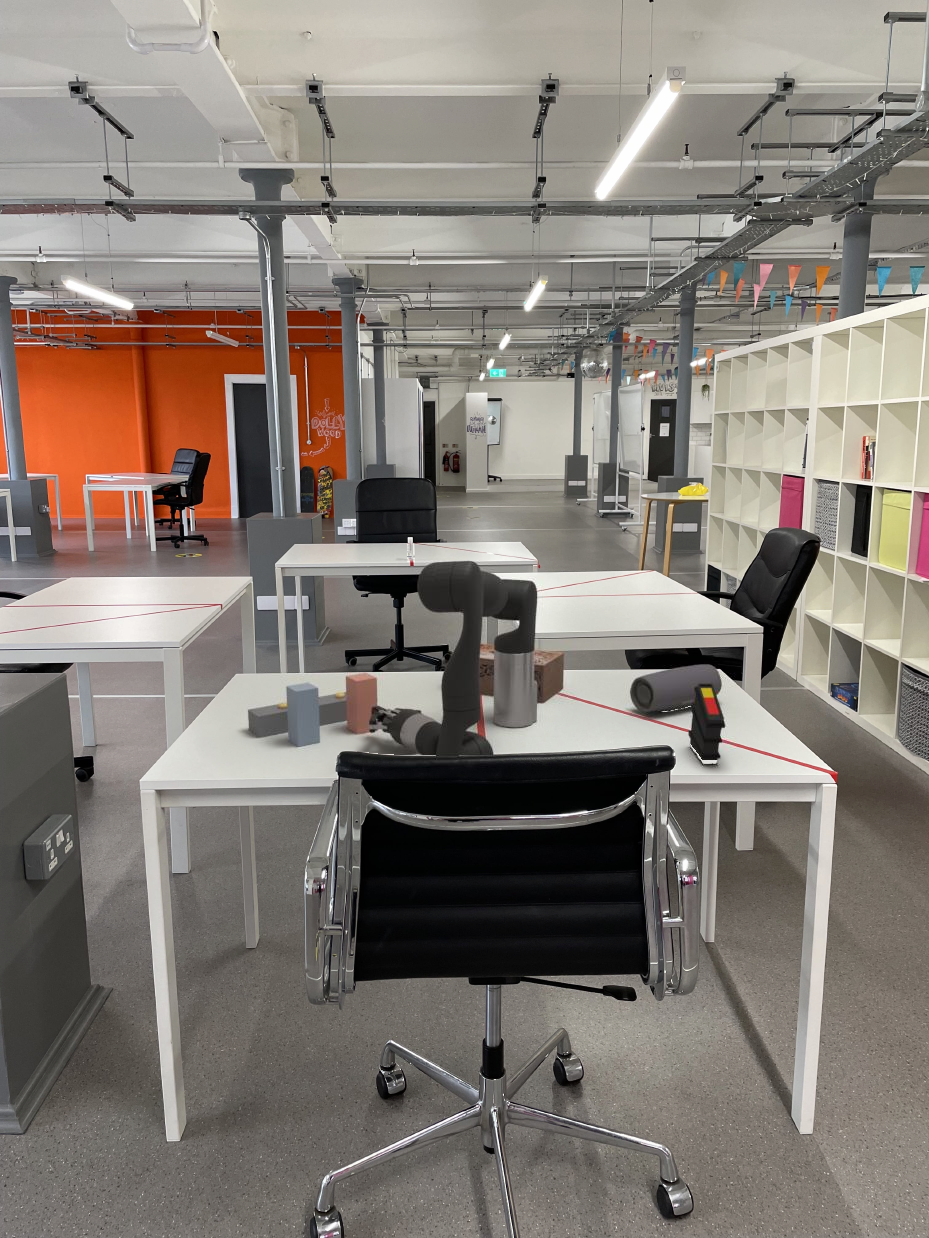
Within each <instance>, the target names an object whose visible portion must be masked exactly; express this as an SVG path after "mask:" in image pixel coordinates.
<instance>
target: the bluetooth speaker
mask: <svg viewBox="0 0 929 1238" xmlns="http://www.w3.org/2000/svg"><path fill="white" fill-rule="evenodd" d="M721 677H722V676H721V675H720V672H719V671H718V669H717V668H716V667H715V666H713V665H711V664H693V665H688V666H687V665H686V666H680V667H674V668H670V669H666V670H661V671H656V672H651V673H648V674H643V675H642V676H639V677H636V678H635V679H634V680H633V681H632V682H631V685H630V689H629V690H630V691H629V693H630V700H631V701H632V702H631V703H632V704H633V705H634V707H635V709H638V710H639V711H641V712H646V713H647V712H658V710H660V711H671V710H675V709H681V708H685V707H688V706H692V705H693V706H694V702H695V696H696V693H695V690H694V688H695V687H698V684H699V683H711V684H713V686H714V689H715V692H716V695H718V694H719V693H721V691H722V687H723V686H722V678H721Z"/></svg>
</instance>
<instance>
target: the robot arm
mask: <svg viewBox="0 0 929 1238" xmlns="http://www.w3.org/2000/svg"><path fill="white" fill-rule="evenodd" d="M416 588H417V594H418V595H417V596H418V597H419V599H420V602H421V604H422V605H423V606H424V607H425V608H426V609H427V610H428V611H430V612H431V613H437V614H440V613H442V614H443V613H447V614H448V613H460V614H462V615H463V616H462V617H463V618H462V620H463V621H462V629H461V633H460V637H459V640H458V641H457V644H456V646H455V648H454V649H453V652H452V653H453V654H452V653H451V654H452V656H451V657H449V659H448V661H447V663H446V665H445V668H444V670H443V673H442V678H441V685H440V686H441V689H440V690H441V702H442V703H441V704H442V721H441V723H440V722H438V721H437V720H436V719H435V718H432V717H431V716H428V715H426V714H424V713H422V710H421V709H412V708H400V707H396V708H394V709H391V708H385V707H382V706H380V705H377V706H374V707H372V709H371V718H370V720H369V732H368V733H370V734H373V733H376V731H379V730H381V731H382V732H383V733H387V734H390V736H391V738H392V739H393V741H394V742H396V743H397V744H398V745H400V746H403V747H404V748H405V749H407V750H409V751H411V752H413V753H416V754H418V755H421V756H423V755H436V756H459V755H493V756H494V750H493V746H492V745H491V743H490V741H489V740H488V739H487V738H485V736H483V735H482V734H480V733H477V732H474V731H470V730H468V729H470V728H471V727H473V726H475V725H476V724H477V723H479V722H480V720H481V719H482V706H481V705H482V703H481V695H480V686H479V660H480V646H481V644H482V632H483V618H489V617H492V618H493V619H497V620H500V621H501V620H502V621H515V622H516V621H518V627H517V628H515V629H514V630H511V631H507V632H504V633H501V634H499V635H497V636H495V638H494V642H493V645H494V697H493V723H494V724H495V725H497V726H501V727H506V728H524V727H528V726H531V725H532V724H533V723H534V722H537V719H538V703H537V681H535V680H534V650H536V649H535V646H536V645H535V643H536V642H535V641H536V623H537V608H538V587H537V586H536V584H535V582H534V581H533V580H527V579H526V580H524V579H509V578H508V579H507V578H506V579H505V578H501V577H499V576H498V575H496V574H495V573H491V572H488V571H485V570H482V569H481V568H480V566H479V564H478V563H476V561H473V560H456V561H455V560H453V561H451V560H450V561H437V562H436V561H435V562H431V563H428V564H427V565H426V566H425V567H423V568H422V570H421V572H420V573H419V576H418V580H417V587H416Z"/></svg>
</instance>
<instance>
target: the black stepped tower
mask: <svg viewBox="0 0 929 1238" xmlns="http://www.w3.org/2000/svg"><path fill="white" fill-rule="evenodd" d="M694 690H695V693H696V696H695V702H694V704H693V706H691V707H690V711H691V713H692V716H691V717H692V718H691V725H690V730H688V737H689V739H690V741H689V745H690V744H691V745H692V747H693V748H694V749H695V750H696V752H697V753H698V754H699V756H700V757H701V759H702V760H718V761H719V759H721V754H720V751H719V749H720V747H719V746H720V744H722V743H723V739H722V737H721V733H722V729H725V728H726V723H725V716H724V713H723V711H722V708H721V705H720V701H719V699H718V696H717V695H718V694H717V695H716V692H715V689H714V686H713V684H711V683H699V684H698V687H695V688H694Z"/></svg>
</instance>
